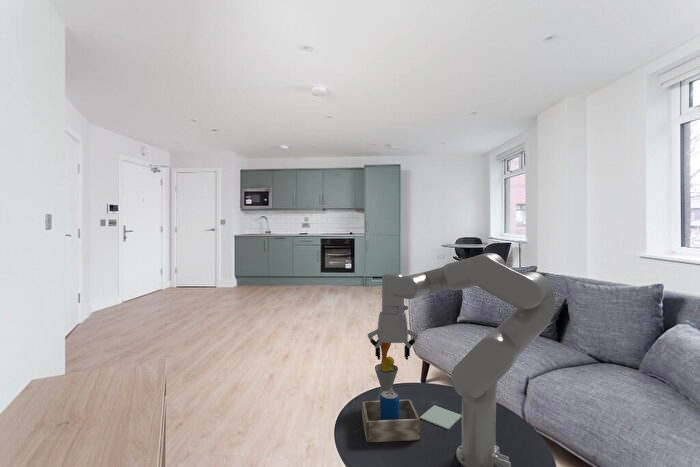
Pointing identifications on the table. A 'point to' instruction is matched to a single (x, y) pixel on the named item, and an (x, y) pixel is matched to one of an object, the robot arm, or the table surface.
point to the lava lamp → (386, 370)
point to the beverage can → (389, 405)
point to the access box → (390, 423)
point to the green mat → (441, 417)
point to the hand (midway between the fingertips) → (392, 358)
